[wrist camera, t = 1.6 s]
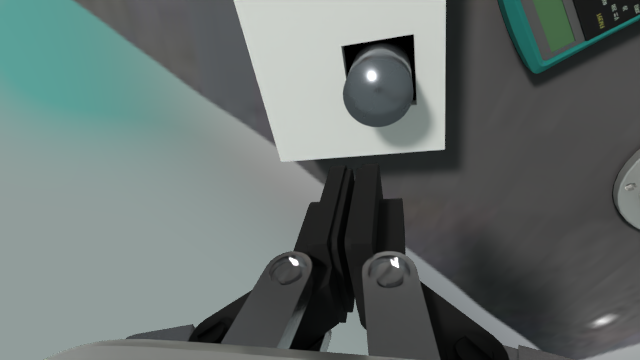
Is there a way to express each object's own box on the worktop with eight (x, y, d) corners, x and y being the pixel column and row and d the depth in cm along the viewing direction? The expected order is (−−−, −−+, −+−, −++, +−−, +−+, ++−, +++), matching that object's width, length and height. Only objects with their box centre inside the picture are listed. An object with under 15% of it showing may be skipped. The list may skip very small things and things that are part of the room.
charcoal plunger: (408, 35, 24) (411, 54, 19) (411, 94, 26) (414, 123, 22) (348, 45, 25) (337, 65, 20) (356, 101, 27) (348, 130, 23)
